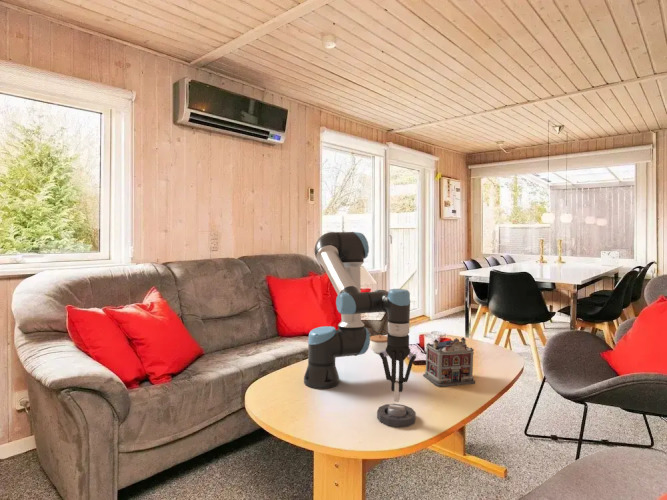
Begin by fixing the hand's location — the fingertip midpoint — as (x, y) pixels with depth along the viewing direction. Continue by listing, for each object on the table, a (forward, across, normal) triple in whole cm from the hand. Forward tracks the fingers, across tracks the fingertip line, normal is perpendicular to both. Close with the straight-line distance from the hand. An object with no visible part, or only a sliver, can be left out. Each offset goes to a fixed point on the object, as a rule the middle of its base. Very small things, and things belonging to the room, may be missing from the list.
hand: (396, 400), depth 151 cm
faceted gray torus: (+7, 0, 0) cm, 7 cm away
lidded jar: (+7, -21, +76) cm, 79 cm away
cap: (+7, 0, 0) cm, 7 cm away
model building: (+7, +16, +46) cm, 49 cm away
